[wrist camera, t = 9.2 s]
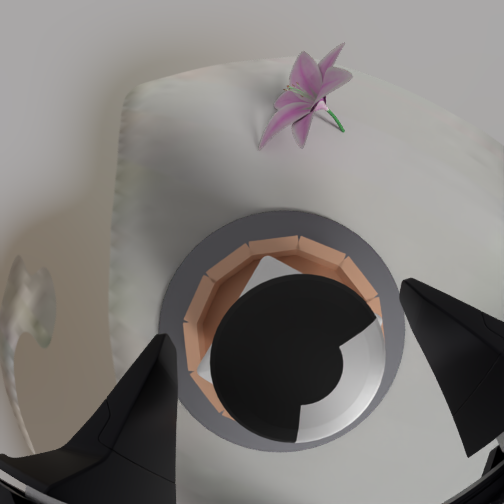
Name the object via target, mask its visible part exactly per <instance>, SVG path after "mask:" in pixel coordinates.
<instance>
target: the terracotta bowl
mask: <svg viewBox="0 0 504 504" xmlns="http://www.w3.org/2000/svg"><path fill="white" fill-rule="evenodd" d="M345 255H346V254H345V253H342V252H340V251H337V250H335V249H333V248H330V247H328V246H325V245H323V244H320V243H318V242H315V241H313V240H310V239H308V238H305V237H303V236H301V237H300V239H299V241H298V235H296V236H288V237H281V238H273V239H265V240H257V241H250V242H249V247H248V245H247V244H246V243H245V244H243V245H242V246H241V247H239V248H238V249H237V250H235V251H234V252H232V253H231V254H230V255H228V256H227V257H226V258H224V259H223V260H222V261H220V262H219V263H217V264H216V265H215V266H213V267H212V268H211V269H209V270H208V271H207V272H206V273H207V275H208V276H209V277H207V276H205V275H203V277H202V279H201V281H200V284H199V286H198V288H197V290H196V293H195V295H194V297H193V299H192V301H191V304H190V306H189V308H188V310H187V313H186V315H185V317H184V320H185V321H187V322H188V323H183V328H184V338H185V348H186V356H187V365H188V371H194V372H192V373H191V374H190V375H191V377H192V378H193V380H194V381H195V382H196V384H197V385H198V386H199V388H200V389H201V390H202V392H203V393H204V394H205V396H206V397H207V398H208V400H209V401H210V402H211V403H212V405H213V406H214V407H215V408H216V410H217V411H218V412H219V413H220V412H221V411H223V410H224V412H223V414H222V415H223V416H225V417H228V418H230V419H232V420H234V419H233V418H232V417H231V416H230V415H229V413H228V412H227V411H226V410H225V408H224V407H223V405H222V404H221V402H220V400H219V398H218V397H217V394H216V392H215V389H214V387H213V384H212V383H210V382H208V381H207V380H205V379H204V378H202V377H200V376H199V375H198V373H197V368H198V366H199V364H200V362H201V361H202V359H203V357H204V356H205V354H206V352H207V351H208V349H209V347H210V346H211V344H212V342H213V338H214V335H215V333H216V330H217V327H218V325H219V324H220V322H221V320H222V318H223V316H224V315H225V314H226V312H227V311H228V310H229V308H230V307H231V306H232V305H233V304H234V303H235V302H236V301H237V300H238V298H239V297H240V295H241V293H242V292H243V290H244V288H245V286H246V285H247V283H248V281H249V280H250V278H251V276H252V275H253V273H254V271H255V269H256V268H257V266H258V264H259V262H260V261H261V259H262V258H263V257H265V256H271V257H273V258H275V259H277V260H279V261H281V262H282V263H284V264H286V265H288V266H290V267H292V268H293V269H295V270H297V271H299V272H301V273H303V274H313V275H320V276H324V277H327V278H331V279H334V280H336V281H338V282H340V283H342V284H344V285H346V286H348V287H349V288H351V289H352V290H354V291H355V292H356V293H357V294H358V295H360V296H361V297H362V298H363V299H364V300H365V301H366V303H367V304H368V305H369V306H370V307H371V309H372V311H373V312H374V313H376V314H378V315H379V316H380V317H381V318H382V313H381V306H380V299H379V297H377V298H374V297H375V296H376V295H377V294H378V293H377V292H376V291H375V289H374V288H373V287H372V285H371V284H370V283H369V281H368V280H367V279H366V278H365V276H364V275H363V274H362V272H361V271H360V270H359V269H358V267H357V266H356V265H355V263H354V262H353V261H352V260H351V258H350V257H349V256H348V257H347V258H346V259H344V258H345ZM381 329H382V332H383V336H384V329H383V321H382V325H381ZM384 341H385V338H384Z"/></svg>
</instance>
